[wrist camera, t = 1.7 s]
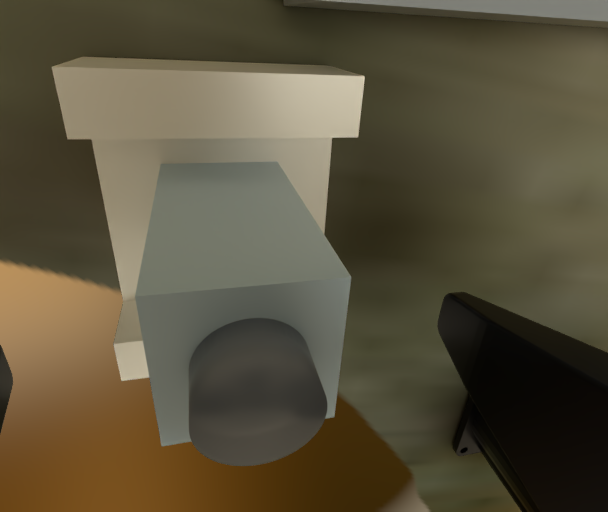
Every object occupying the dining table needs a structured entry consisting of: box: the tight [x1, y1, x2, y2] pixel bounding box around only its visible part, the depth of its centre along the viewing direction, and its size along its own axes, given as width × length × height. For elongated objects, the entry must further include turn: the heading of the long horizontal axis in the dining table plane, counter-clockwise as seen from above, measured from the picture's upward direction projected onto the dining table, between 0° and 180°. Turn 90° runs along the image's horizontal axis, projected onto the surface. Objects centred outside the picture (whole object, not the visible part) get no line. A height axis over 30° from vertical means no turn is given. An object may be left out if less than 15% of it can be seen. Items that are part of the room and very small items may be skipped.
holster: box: [52, 57, 365, 381], centre depth 13 cm, size 9×7×3 cm
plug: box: [135, 162, 351, 466], centre depth 10 cm, size 4×4×8 cm
